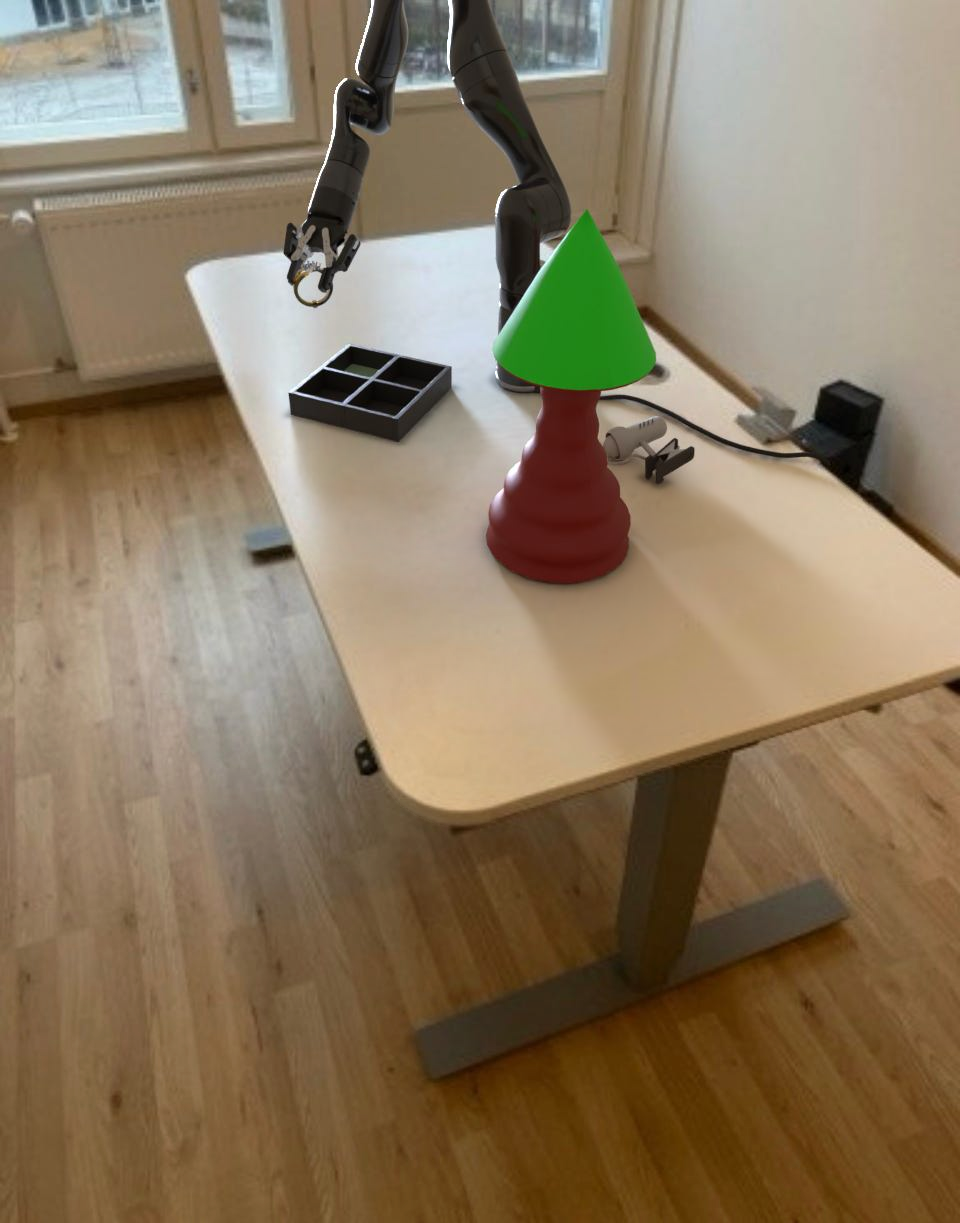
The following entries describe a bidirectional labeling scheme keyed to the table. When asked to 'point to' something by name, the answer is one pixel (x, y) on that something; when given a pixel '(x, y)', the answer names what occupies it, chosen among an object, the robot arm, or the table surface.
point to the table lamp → (568, 414)
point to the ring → (298, 278)
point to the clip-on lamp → (647, 447)
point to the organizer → (371, 391)
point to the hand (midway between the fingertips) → (306, 287)
